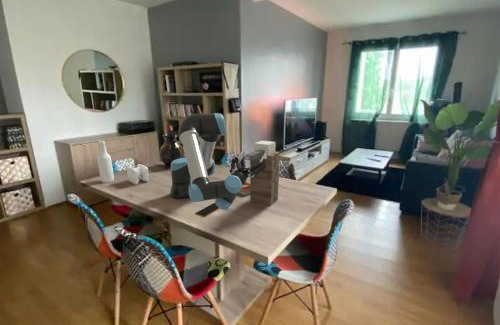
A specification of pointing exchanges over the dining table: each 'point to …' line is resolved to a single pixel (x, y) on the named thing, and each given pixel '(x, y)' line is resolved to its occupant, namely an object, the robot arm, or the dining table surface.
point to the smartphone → (207, 210)
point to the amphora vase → (170, 150)
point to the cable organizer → (137, 174)
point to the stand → (265, 181)
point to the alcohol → (105, 164)
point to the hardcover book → (245, 189)
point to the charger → (261, 150)
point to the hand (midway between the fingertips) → (254, 153)
